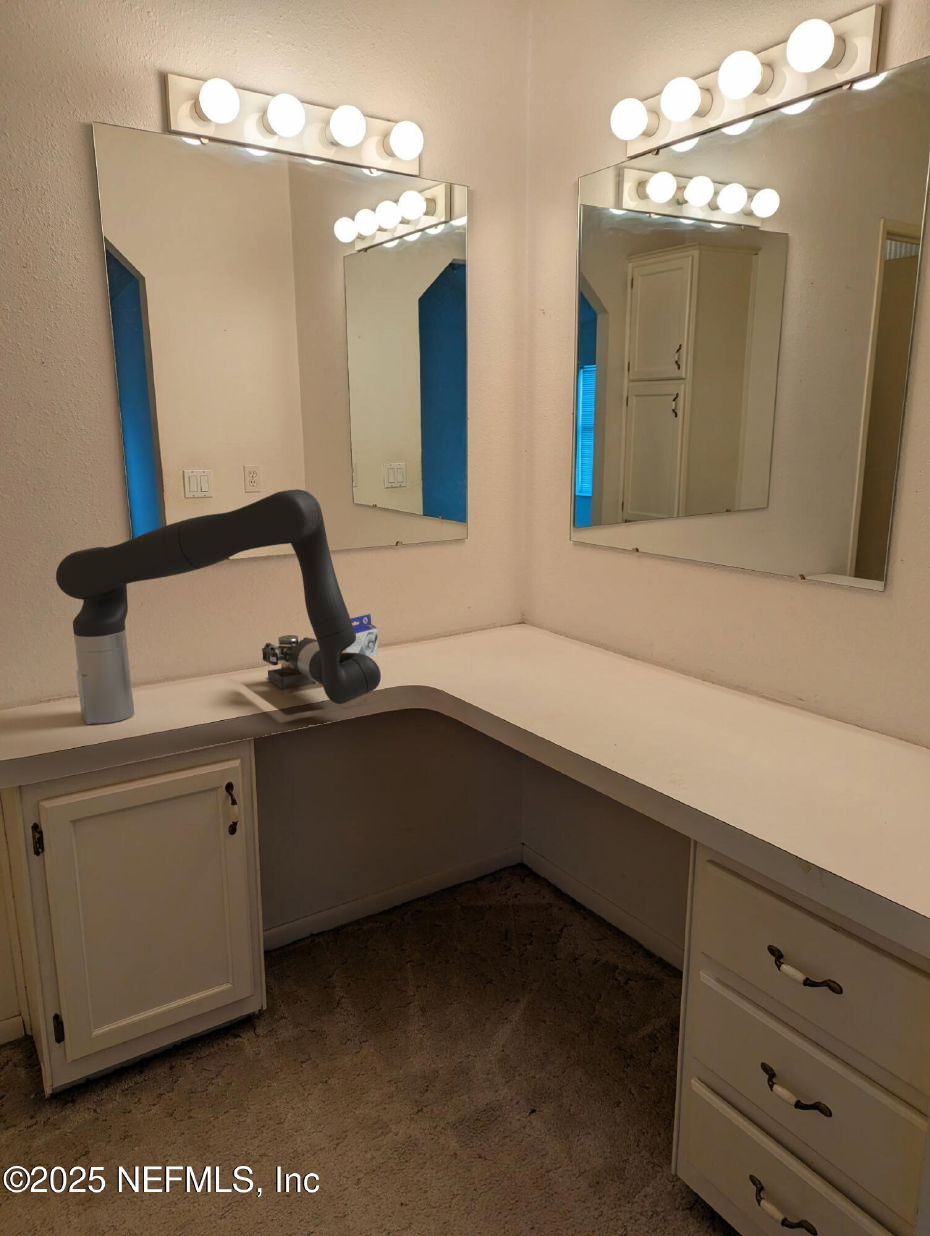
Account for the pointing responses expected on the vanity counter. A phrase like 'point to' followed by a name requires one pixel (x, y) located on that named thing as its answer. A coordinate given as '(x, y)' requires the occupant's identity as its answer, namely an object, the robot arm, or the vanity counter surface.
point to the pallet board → (291, 681)
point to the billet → (286, 640)
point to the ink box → (364, 636)
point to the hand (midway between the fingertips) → (286, 644)
